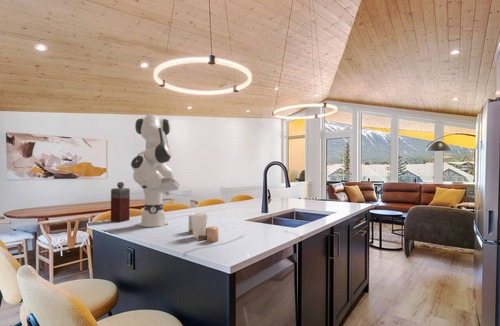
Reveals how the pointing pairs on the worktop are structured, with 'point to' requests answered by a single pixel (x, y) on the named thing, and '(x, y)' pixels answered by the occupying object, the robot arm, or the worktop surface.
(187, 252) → the worktop surface
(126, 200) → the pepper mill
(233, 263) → the worktop surface
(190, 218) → the sage tin
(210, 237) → the orange-brown cylindrical block
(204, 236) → the bay
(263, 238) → the worktop surface
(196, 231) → the foam cup
